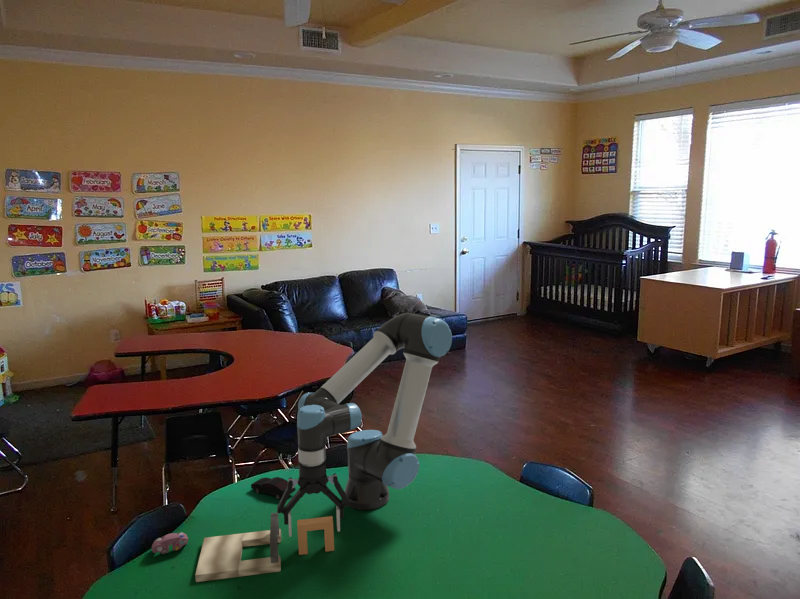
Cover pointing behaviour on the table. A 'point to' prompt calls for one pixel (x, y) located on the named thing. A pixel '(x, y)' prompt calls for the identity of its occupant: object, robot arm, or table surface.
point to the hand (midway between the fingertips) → (314, 531)
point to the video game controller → (169, 542)
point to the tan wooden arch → (315, 524)
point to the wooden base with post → (238, 554)
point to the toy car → (271, 486)
